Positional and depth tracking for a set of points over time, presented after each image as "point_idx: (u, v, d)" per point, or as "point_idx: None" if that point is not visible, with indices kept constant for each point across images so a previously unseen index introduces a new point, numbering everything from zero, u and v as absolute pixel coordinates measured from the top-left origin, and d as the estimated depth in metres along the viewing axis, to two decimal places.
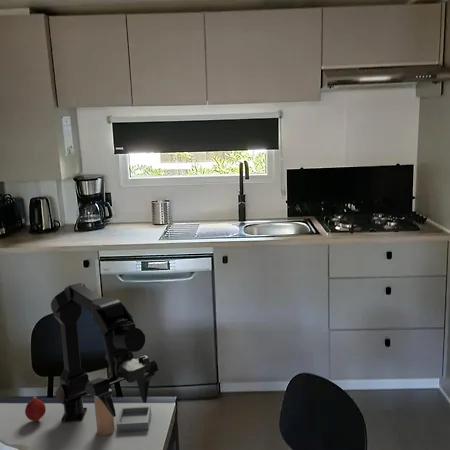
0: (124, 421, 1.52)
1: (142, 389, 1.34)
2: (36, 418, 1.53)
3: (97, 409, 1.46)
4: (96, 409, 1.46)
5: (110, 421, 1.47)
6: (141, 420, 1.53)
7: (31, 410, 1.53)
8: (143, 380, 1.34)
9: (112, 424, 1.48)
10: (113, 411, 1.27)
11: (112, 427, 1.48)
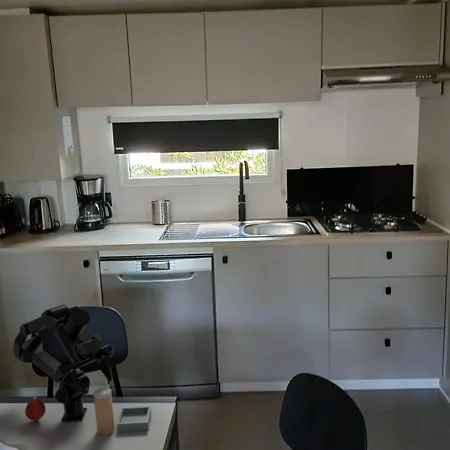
0: (124, 421, 1.52)
1: (105, 370, 1.52)
2: (36, 418, 1.53)
3: (97, 409, 1.46)
4: (96, 409, 1.46)
5: (110, 421, 1.47)
6: (141, 420, 1.53)
7: (31, 410, 1.53)
8: (103, 362, 1.53)
9: (112, 424, 1.48)
10: (83, 388, 1.44)
11: (112, 427, 1.48)
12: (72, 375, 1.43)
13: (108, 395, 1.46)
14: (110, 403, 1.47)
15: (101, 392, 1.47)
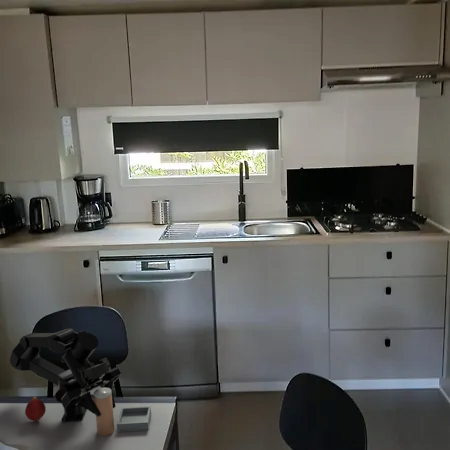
0: (124, 421, 1.52)
1: None
2: (36, 418, 1.53)
3: None
4: None
5: (110, 421, 1.47)
6: (141, 420, 1.53)
7: (31, 410, 1.53)
8: None
9: (112, 424, 1.48)
10: (97, 410, 1.45)
11: (112, 427, 1.48)
12: (86, 397, 1.44)
13: (108, 395, 1.46)
14: (110, 403, 1.47)
15: (101, 392, 1.47)
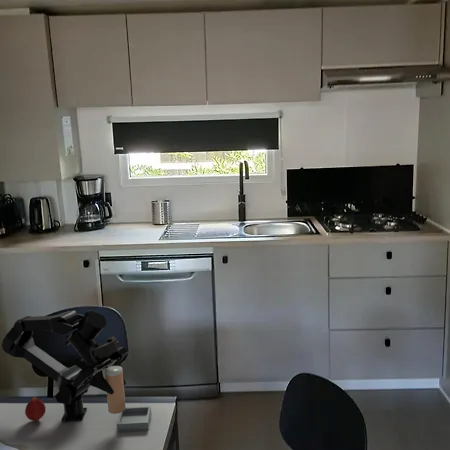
0: (124, 421, 1.52)
1: None
2: (36, 418, 1.53)
3: None
4: None
5: (122, 398, 1.47)
6: (141, 420, 1.53)
7: (31, 410, 1.53)
8: None
9: (124, 401, 1.48)
10: (110, 388, 1.45)
11: (124, 404, 1.48)
12: (99, 376, 1.44)
13: (120, 372, 1.46)
14: (122, 380, 1.47)
15: (113, 370, 1.46)
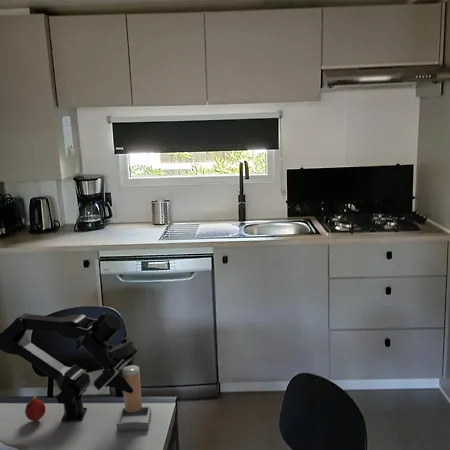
0: (124, 421, 1.52)
1: None
2: (36, 418, 1.53)
3: None
4: None
5: (140, 396, 1.51)
6: (141, 420, 1.53)
7: (31, 410, 1.53)
8: None
9: None
10: (130, 387, 1.48)
11: (141, 402, 1.52)
12: (119, 376, 1.46)
13: (138, 371, 1.50)
14: (139, 378, 1.51)
15: (130, 369, 1.49)
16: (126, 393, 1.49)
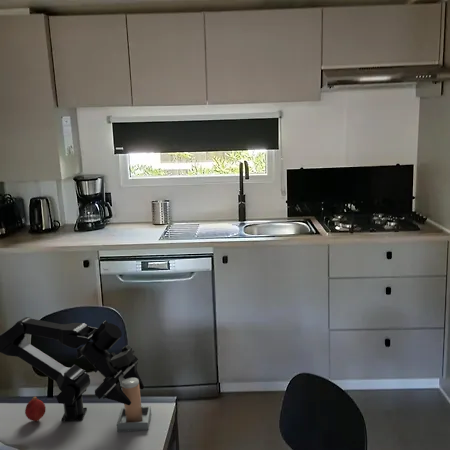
0: (124, 421, 1.52)
1: None
2: (36, 418, 1.53)
3: (129, 399, 1.49)
4: None
5: (140, 408, 1.52)
6: None
7: (31, 410, 1.53)
8: (132, 372, 1.56)
9: (141, 411, 1.53)
10: (127, 399, 1.46)
11: (142, 415, 1.53)
12: (117, 388, 1.45)
13: (138, 383, 1.50)
14: (139, 391, 1.51)
15: (130, 382, 1.50)
16: (126, 406, 1.50)
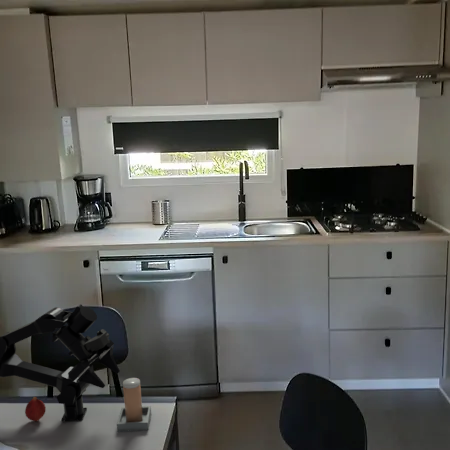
0: (124, 421, 1.52)
1: (111, 364, 1.57)
2: (36, 418, 1.53)
3: (130, 399, 1.49)
4: (128, 399, 1.49)
5: (141, 409, 1.52)
6: None
7: (31, 410, 1.53)
8: (107, 356, 1.57)
9: None
10: (101, 382, 1.48)
11: (142, 414, 1.53)
12: (90, 371, 1.46)
13: (139, 383, 1.50)
14: (140, 391, 1.51)
15: (131, 382, 1.50)
16: (127, 406, 1.50)
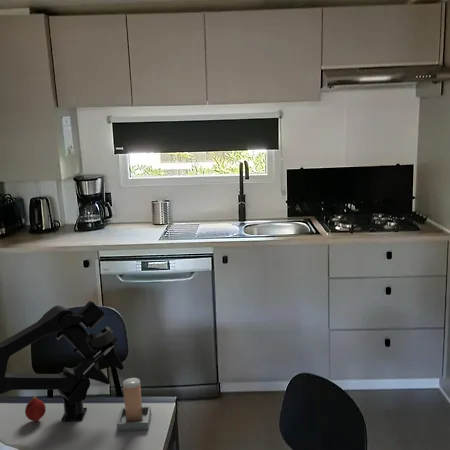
0: (124, 421, 1.52)
1: (115, 360, 1.59)
2: (36, 418, 1.53)
3: (130, 399, 1.49)
4: (128, 399, 1.49)
5: (141, 409, 1.52)
6: None
7: (31, 410, 1.53)
8: (112, 353, 1.59)
9: None
10: (106, 378, 1.49)
11: (142, 414, 1.53)
12: (95, 367, 1.48)
13: (139, 383, 1.50)
14: (140, 391, 1.51)
15: (131, 382, 1.50)
16: (127, 406, 1.50)
